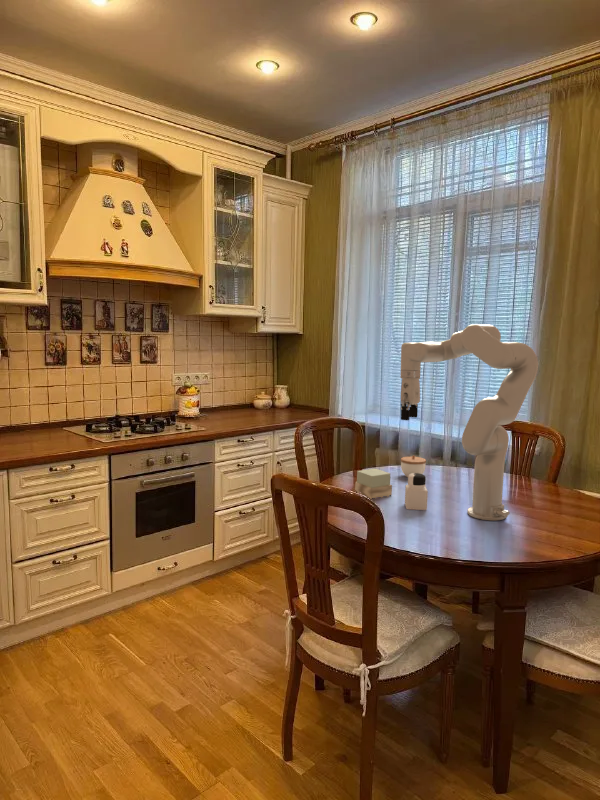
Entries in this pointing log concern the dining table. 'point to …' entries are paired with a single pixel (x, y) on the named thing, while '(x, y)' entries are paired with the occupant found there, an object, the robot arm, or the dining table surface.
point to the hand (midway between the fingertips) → (409, 418)
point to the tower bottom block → (373, 490)
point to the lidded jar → (412, 465)
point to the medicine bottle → (416, 492)
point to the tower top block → (373, 478)
